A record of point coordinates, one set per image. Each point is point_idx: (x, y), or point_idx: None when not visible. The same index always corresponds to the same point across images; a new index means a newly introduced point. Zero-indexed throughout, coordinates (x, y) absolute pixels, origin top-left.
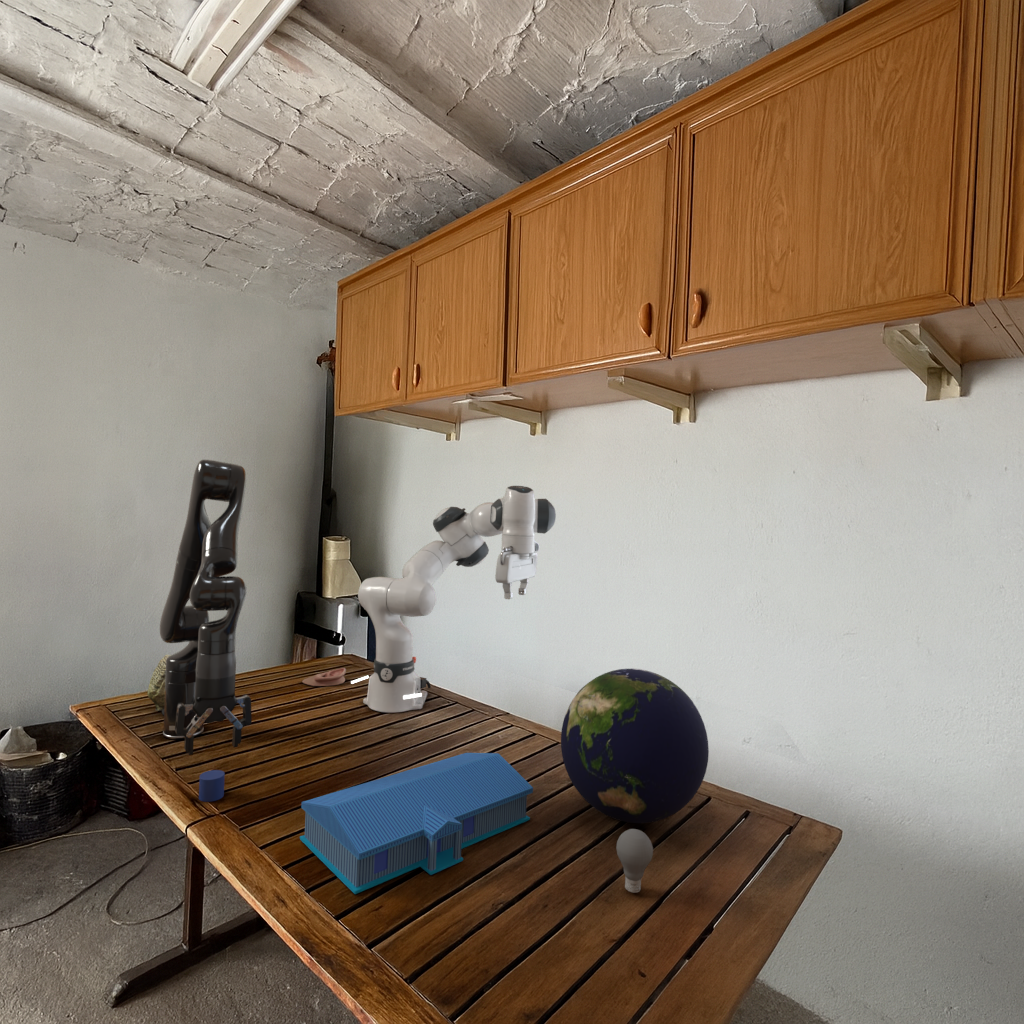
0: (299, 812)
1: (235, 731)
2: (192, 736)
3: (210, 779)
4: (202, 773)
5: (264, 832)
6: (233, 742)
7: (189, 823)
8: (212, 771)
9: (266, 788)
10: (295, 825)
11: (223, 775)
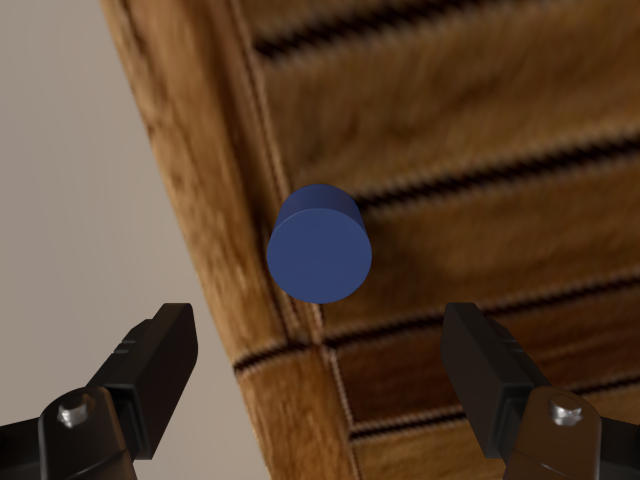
0: None
1: (486, 451)
2: (141, 442)
3: (304, 299)
4: (282, 226)
5: (396, 469)
6: (451, 346)
7: (237, 359)
8: (327, 223)
9: (501, 251)
10: (469, 472)
11: (361, 283)
